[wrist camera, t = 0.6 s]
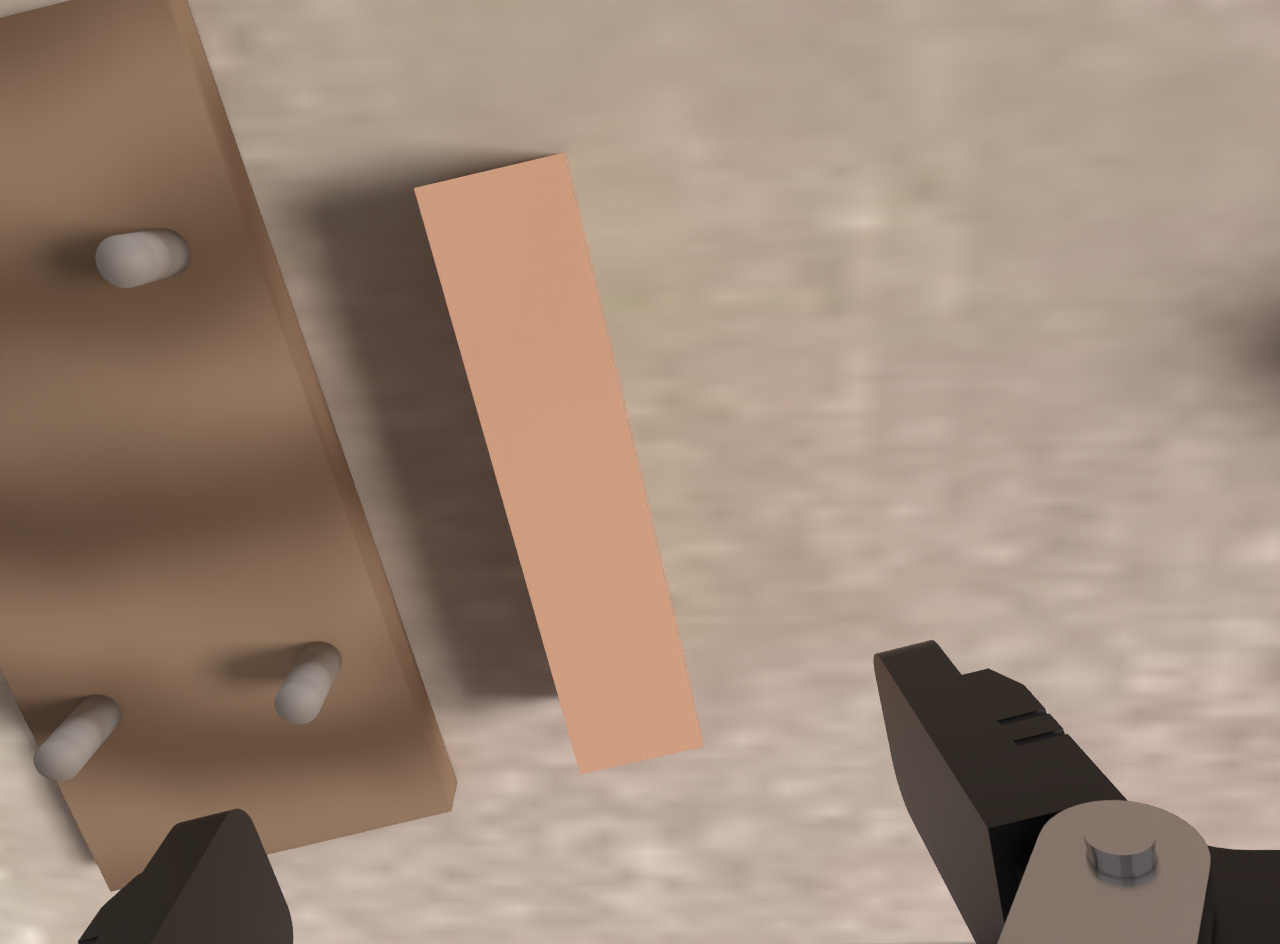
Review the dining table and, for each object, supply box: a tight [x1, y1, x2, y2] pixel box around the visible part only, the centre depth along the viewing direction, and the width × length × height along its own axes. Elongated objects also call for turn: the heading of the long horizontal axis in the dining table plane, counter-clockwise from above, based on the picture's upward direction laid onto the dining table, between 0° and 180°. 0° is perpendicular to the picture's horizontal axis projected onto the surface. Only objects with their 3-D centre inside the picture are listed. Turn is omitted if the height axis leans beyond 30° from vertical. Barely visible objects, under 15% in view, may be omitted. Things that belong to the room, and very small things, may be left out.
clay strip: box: [414, 153, 704, 774], centre depth 27 cm, size 16×4×4 cm, turn 13°
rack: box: [0, 0, 457, 891], centre depth 27 cm, size 24×11×4 cm, turn 13°
